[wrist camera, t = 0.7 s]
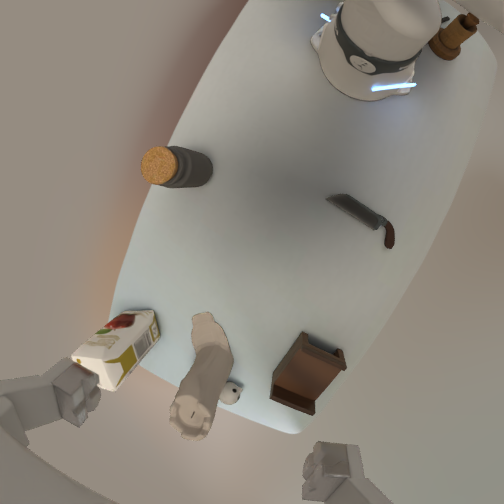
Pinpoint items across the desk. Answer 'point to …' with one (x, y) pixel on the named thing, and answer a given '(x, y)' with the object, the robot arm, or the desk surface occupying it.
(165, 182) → the bottle
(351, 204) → the knife
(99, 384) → the juice carton
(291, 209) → the desk surface
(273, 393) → the wooden u-shaped stand
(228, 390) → the figurine
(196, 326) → the candle
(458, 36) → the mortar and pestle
